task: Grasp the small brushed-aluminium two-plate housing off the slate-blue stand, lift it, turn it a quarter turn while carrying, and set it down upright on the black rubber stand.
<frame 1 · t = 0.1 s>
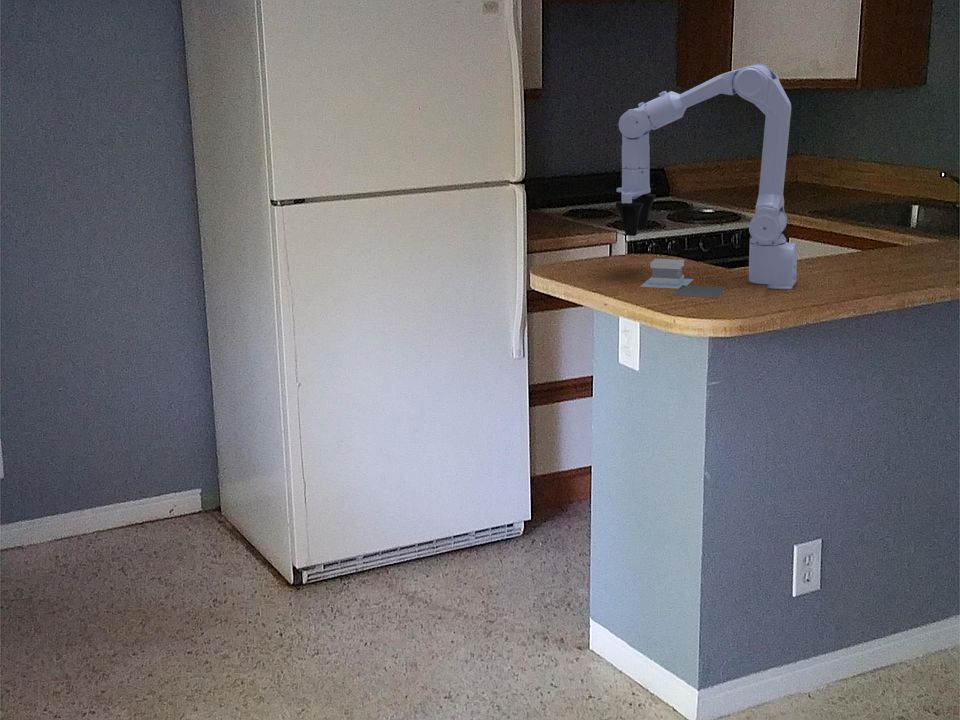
hand: (635, 232, 254), 10 cm above the table, fingers open, 7 cm apart
housing: (667, 282, 248), point 1 cm above the table, touching stand a
stand a: (667, 286, 248), on the table
stand b: (699, 295, 240), on the table
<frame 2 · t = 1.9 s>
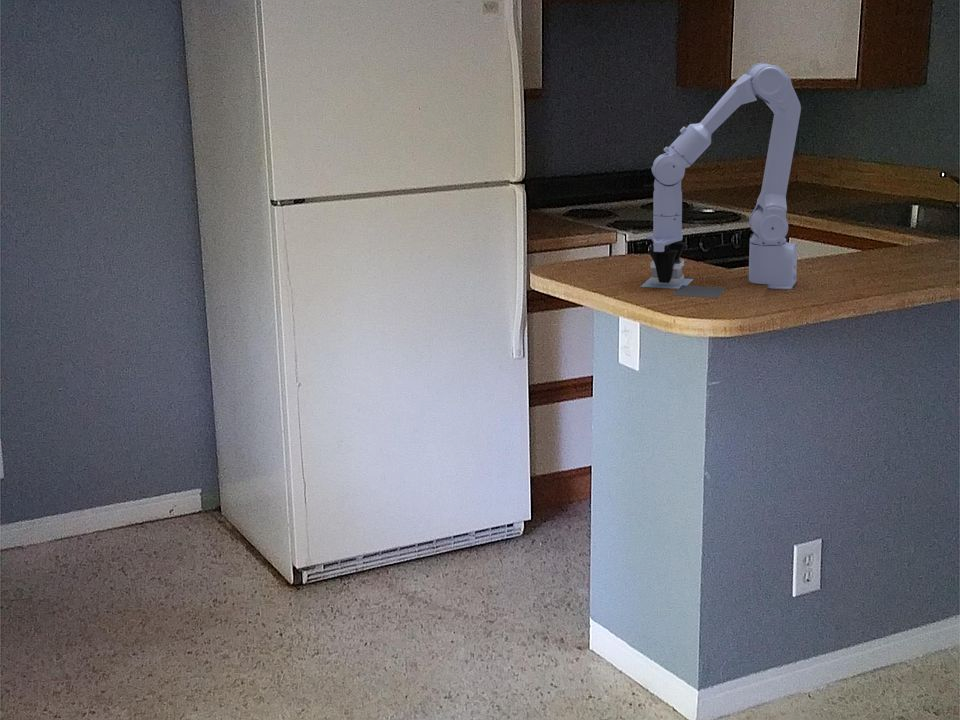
hand: (667, 279, 248), 1 cm above the table, fingers closed on housing, 4 cm apart
housing: (667, 282, 248), point 1 cm above the table, touching gripper, stand a
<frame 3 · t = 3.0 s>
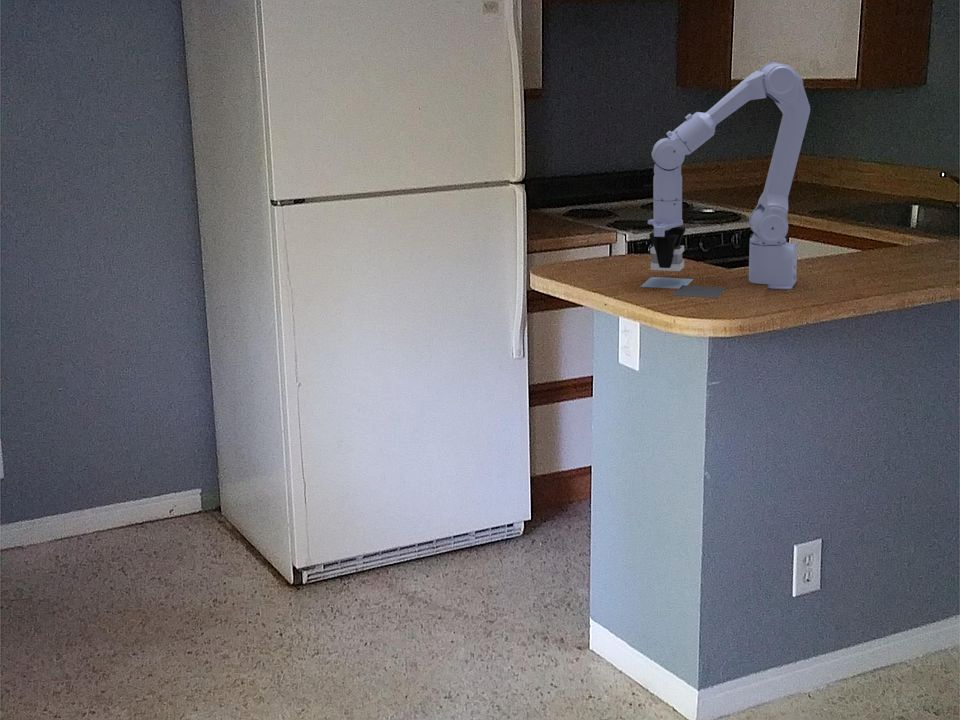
hand: (667, 265, 247), 4 cm above the table, fingers closed on housing, 4 cm apart
housing: (667, 268, 247), point 4 cm above the table, touching gripper
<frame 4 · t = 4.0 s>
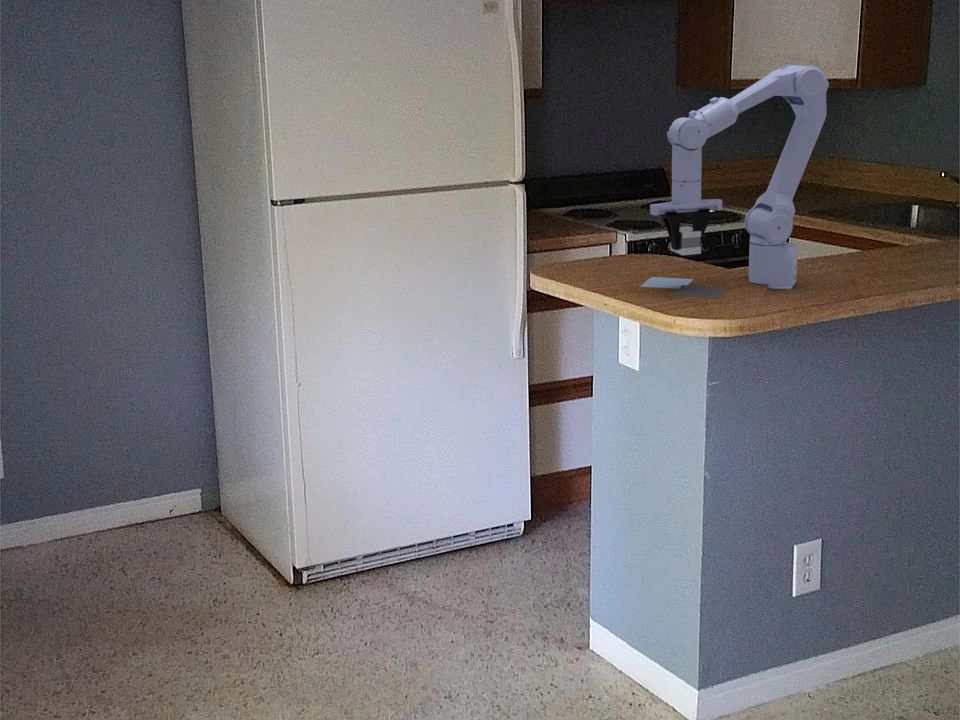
hand: (685, 248, 241), 9 cm above the table, fingers closed on housing, 4 cm apart
housing: (685, 251, 241), point 8 cm above the table, touching gripper
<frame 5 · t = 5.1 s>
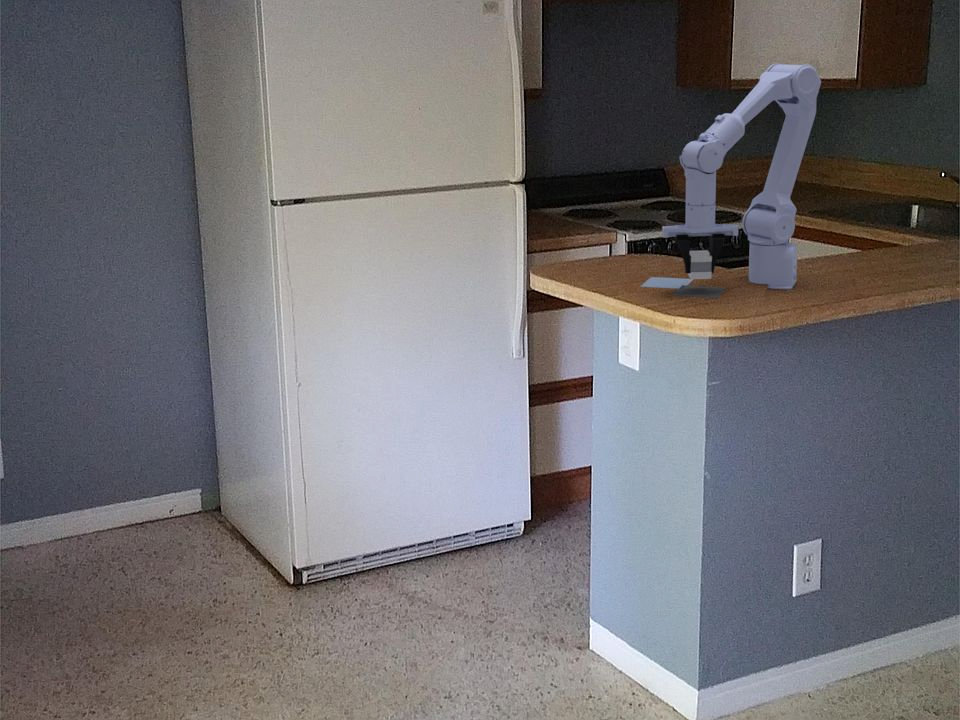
hand: (699, 272, 238), 5 cm above the table, fingers closed on housing, 4 cm apart
housing: (699, 275, 239), point 4 cm above the table, touching gripper
when the fingers open (2 cm above the table, at t = 6.0 s): housing stays where it is, resting on stand b.
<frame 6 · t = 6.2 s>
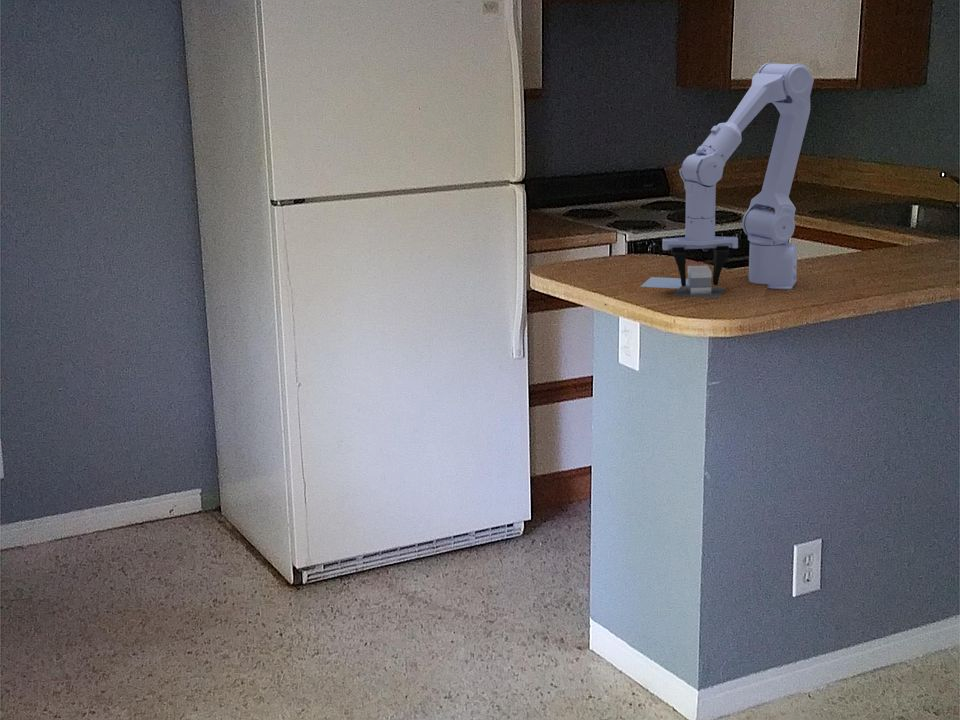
hand: (699, 284, 239), 2 cm above the table, fingers open, 6 cm apart
housing: (699, 291, 240), point 1 cm above the table, touching stand b
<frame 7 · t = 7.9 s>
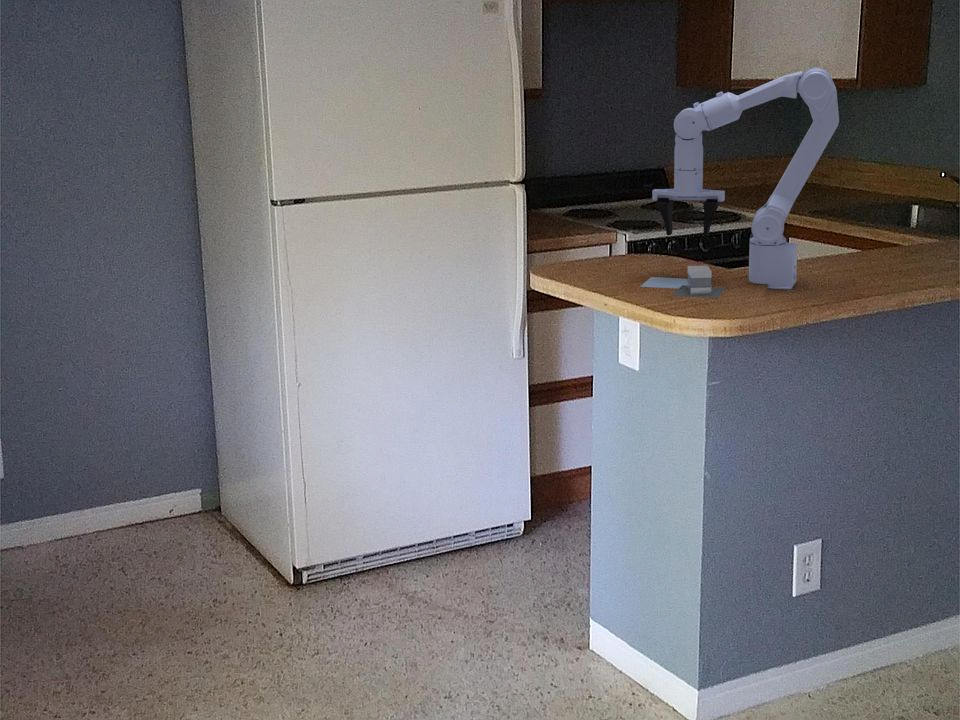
hand: (687, 235, 248), 10 cm above the table, fingers open, 7 cm apart
nothing on the table moved.
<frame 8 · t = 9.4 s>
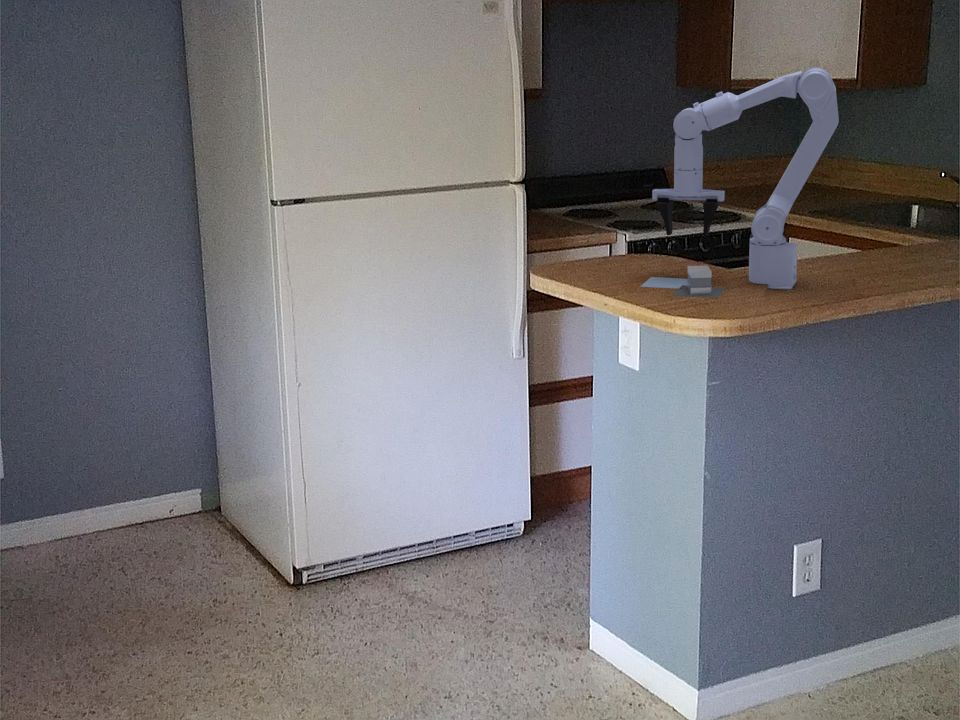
hand: (687, 235, 248), 10 cm above the table, fingers open, 7 cm apart
nothing on the table moved.
at the end: housing 0.2 cm off-centre on the stand b, point 0.8 cm above the stand b's base; housing tilted 0°; the gripper is holding nothing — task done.
